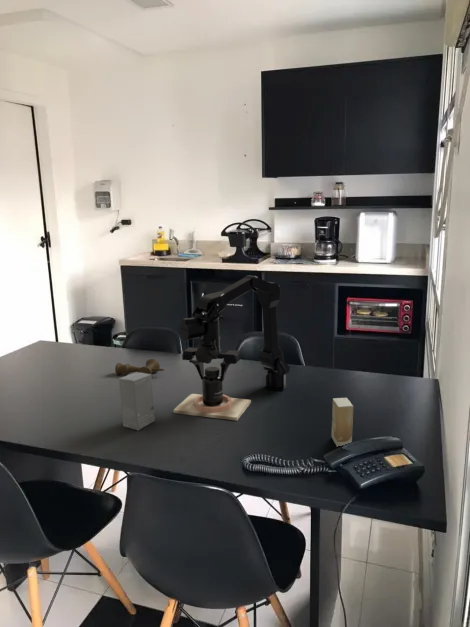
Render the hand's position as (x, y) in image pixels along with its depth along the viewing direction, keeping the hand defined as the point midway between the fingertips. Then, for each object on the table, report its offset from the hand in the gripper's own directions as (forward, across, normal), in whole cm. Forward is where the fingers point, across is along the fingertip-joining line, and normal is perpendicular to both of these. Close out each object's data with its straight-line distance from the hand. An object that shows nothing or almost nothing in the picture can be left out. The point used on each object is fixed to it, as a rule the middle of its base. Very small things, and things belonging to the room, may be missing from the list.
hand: (212, 380), depth 167 cm
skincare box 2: (+10, +44, -13) cm, 47 cm away
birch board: (+10, 0, 0) cm, 10 cm away
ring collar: (+10, 0, 0) cm, 10 cm away
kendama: (+10, -40, +22) cm, 47 cm away
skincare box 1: (+10, -18, -18) cm, 27 cm away
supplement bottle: (+8, 0, 0) cm, 8 cm away
